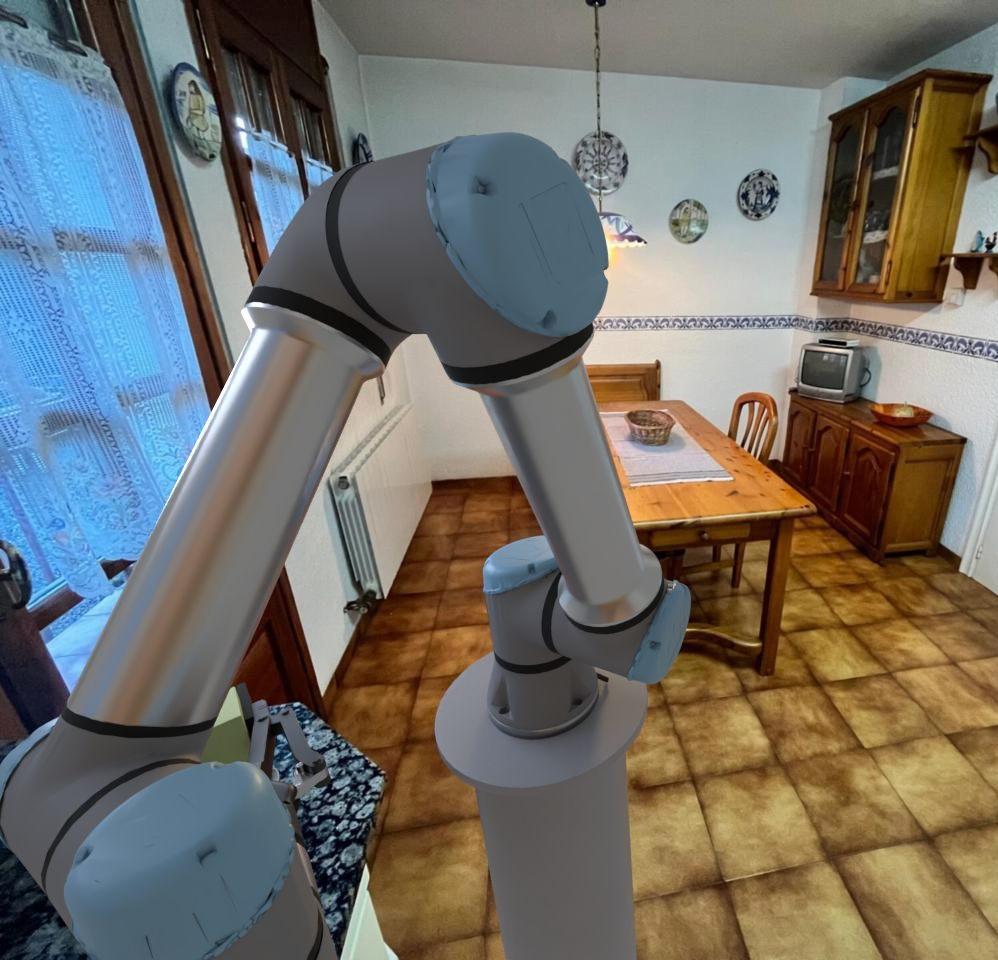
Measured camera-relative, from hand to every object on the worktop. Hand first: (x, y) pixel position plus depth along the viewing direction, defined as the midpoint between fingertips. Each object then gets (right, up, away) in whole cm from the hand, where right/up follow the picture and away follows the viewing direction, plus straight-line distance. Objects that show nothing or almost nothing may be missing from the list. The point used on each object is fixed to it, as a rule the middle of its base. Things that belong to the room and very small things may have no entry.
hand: (215, 706), depth 52 cm
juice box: (+4, -7, -2) cm, 8 cm away
